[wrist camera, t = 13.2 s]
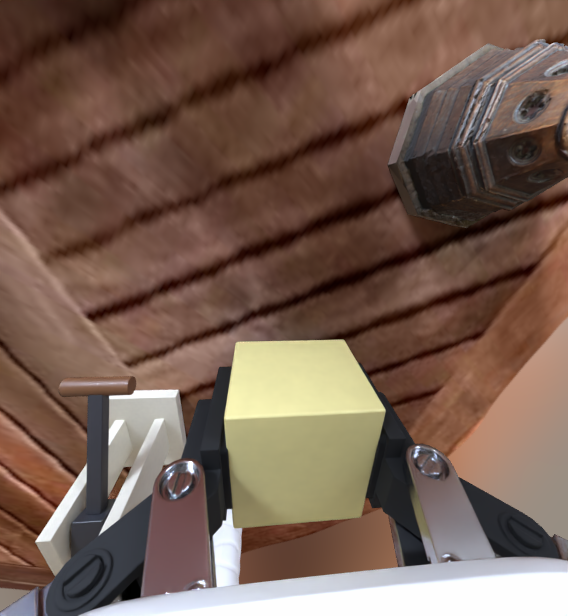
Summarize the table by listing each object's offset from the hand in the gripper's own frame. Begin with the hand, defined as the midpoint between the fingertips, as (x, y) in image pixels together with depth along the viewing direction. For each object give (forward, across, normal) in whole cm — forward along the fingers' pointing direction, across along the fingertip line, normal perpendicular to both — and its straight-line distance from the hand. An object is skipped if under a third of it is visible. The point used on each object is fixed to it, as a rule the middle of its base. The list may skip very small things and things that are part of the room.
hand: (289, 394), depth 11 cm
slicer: (+14, +14, +16) cm, 26 cm away
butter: (0, 0, 0) cm, 0 cm away
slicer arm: (+8, +14, +12) cm, 20 cm away
